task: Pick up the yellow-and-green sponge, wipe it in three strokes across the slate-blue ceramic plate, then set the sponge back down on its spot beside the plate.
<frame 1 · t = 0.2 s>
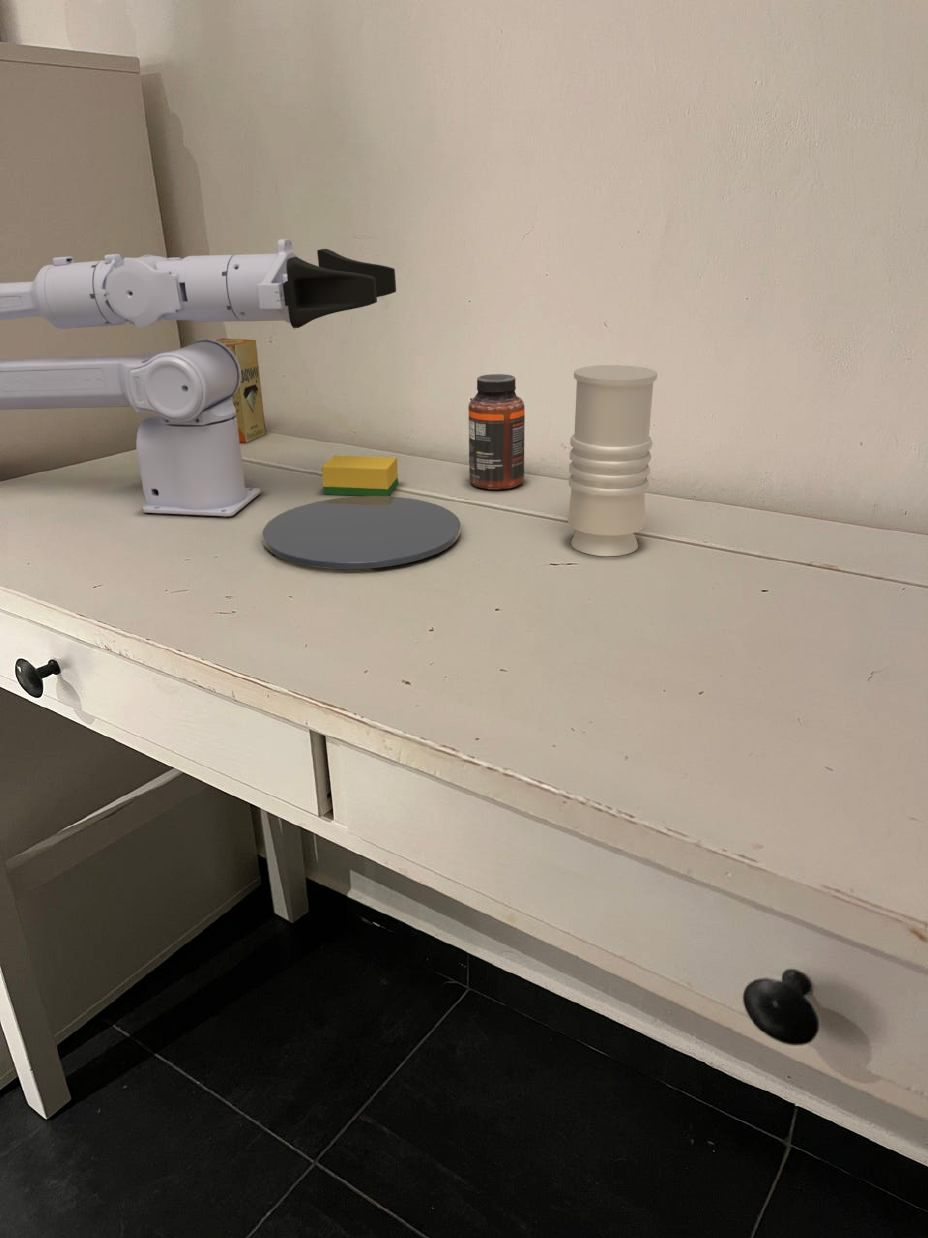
hand: (385, 284, 78), 21 cm above the table, tool horizontal, fingers open, 7 cm apart
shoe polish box: (239, 438, 115), on the table
sponge: (361, 489, 94), on the table
plate: (363, 536, 81), on the table
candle: (604, 546, 79), on the table
supplement bottle: (496, 485, 96), on the table
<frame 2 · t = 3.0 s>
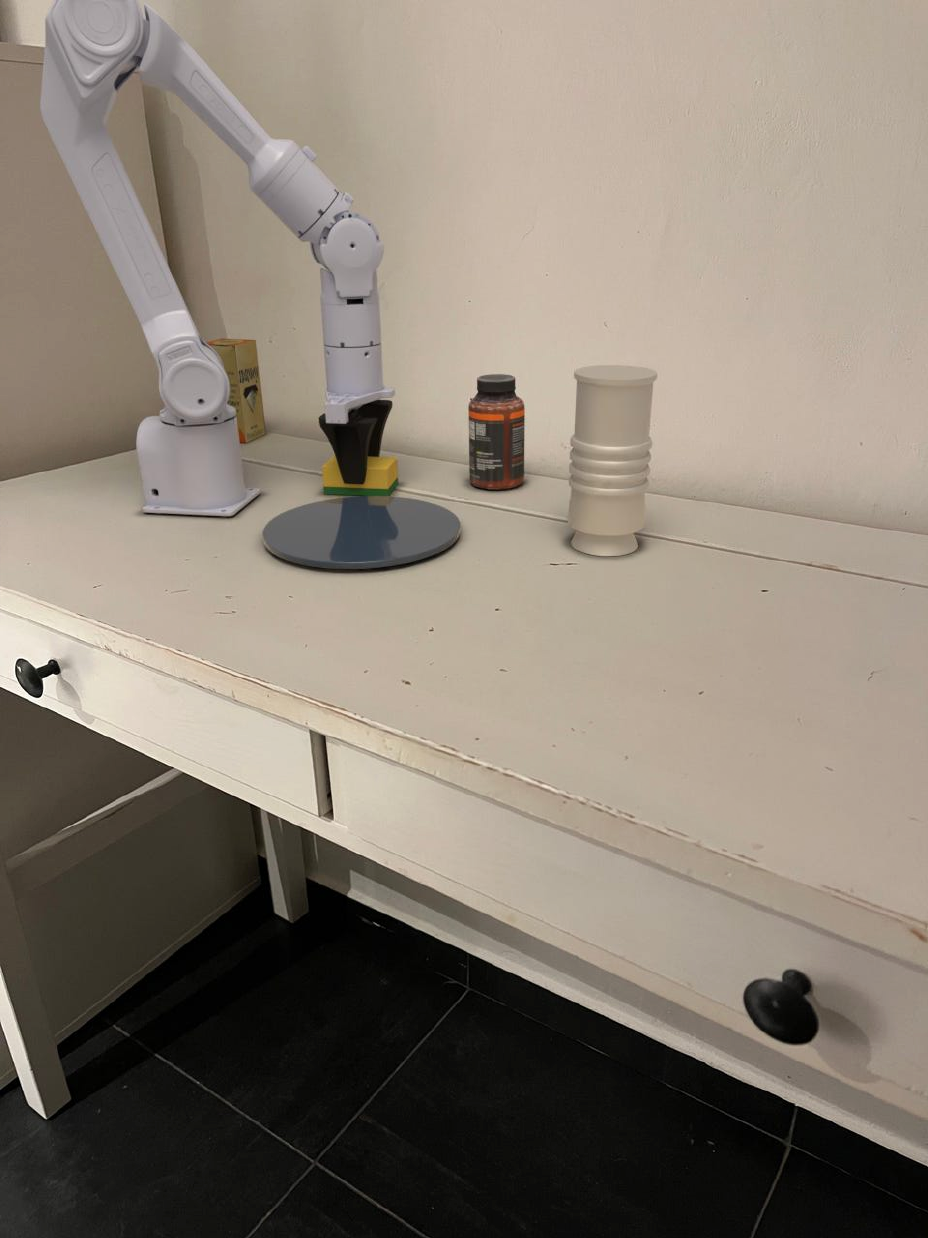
hand: (360, 476, 94), 1 cm above the table, tool pointing down, fingers closed on sponge, 4 cm apart
sponge: (361, 489, 94), on the table, touching gripper
everything else where it was.
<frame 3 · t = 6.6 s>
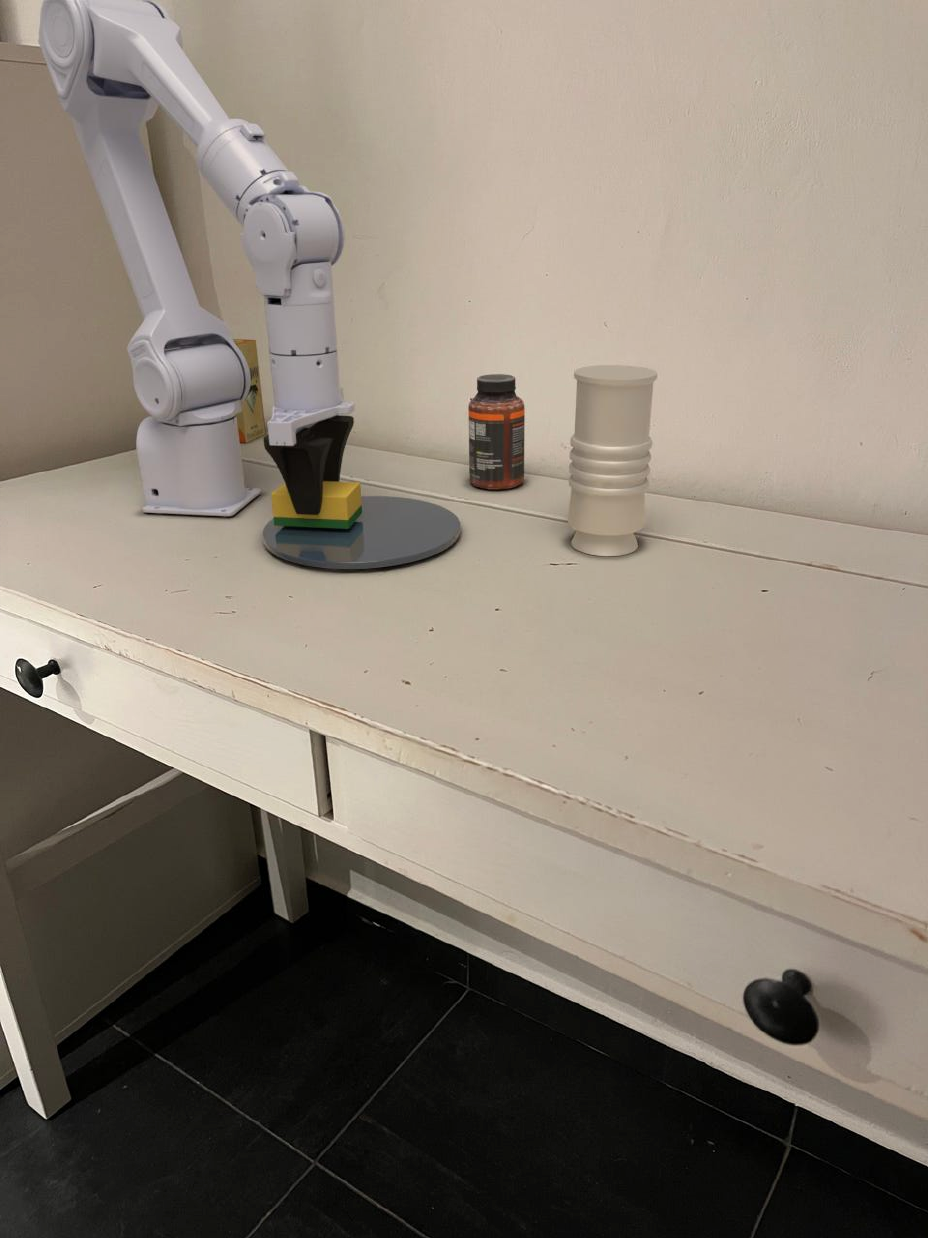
hand: (316, 504, 81), 3 cm above the table, tool pointing down, fingers closed on sponge, 4 cm apart
sponge: (318, 519, 81), point 1 cm above the table, touching gripper
everything else where it was.
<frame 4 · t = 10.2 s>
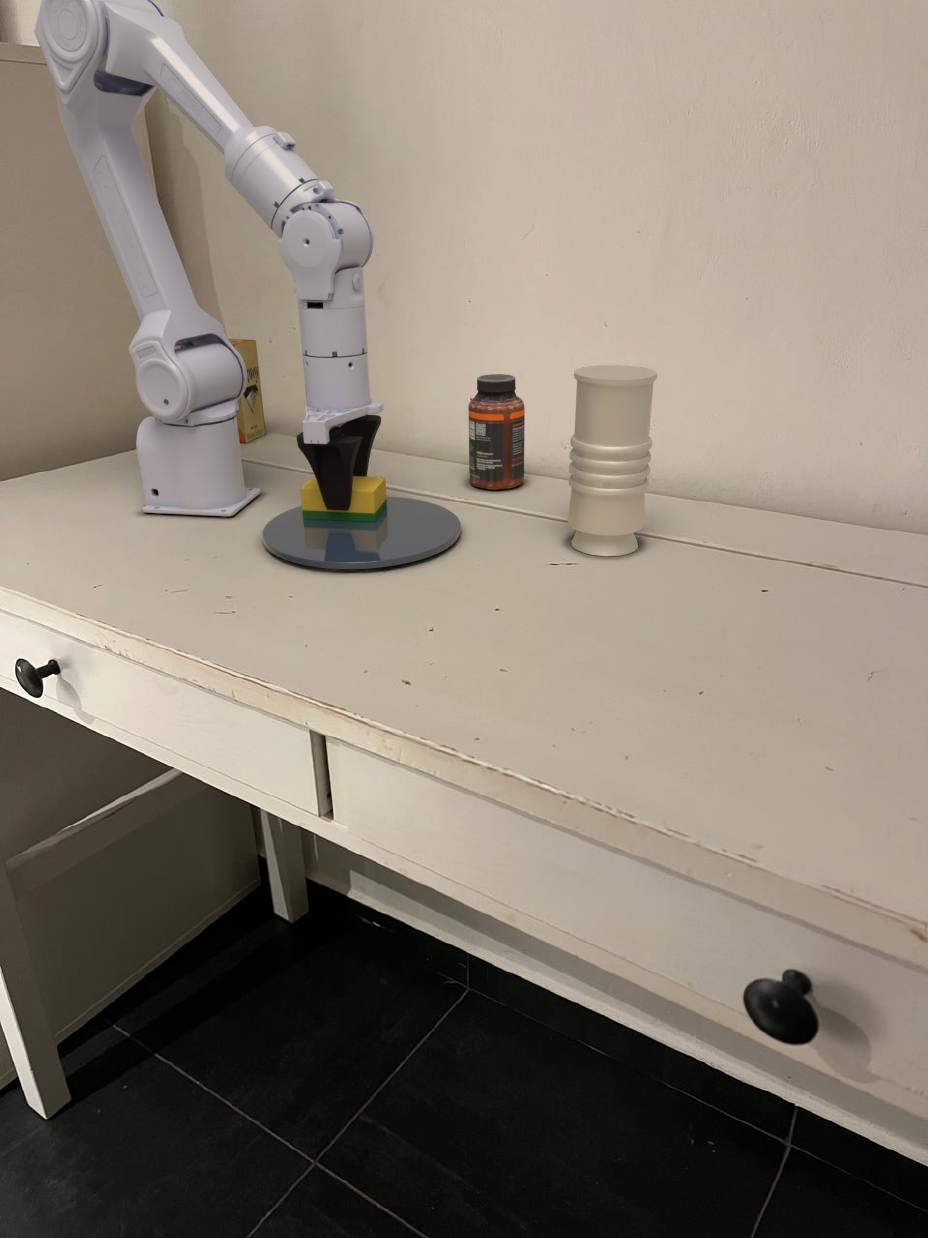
hand: (345, 500, 84), 2 cm above the table, tool pointing down, fingers closed on sponge, 4 cm apart
sponge: (345, 512, 84), point 1 cm above the table, touching gripper
everything else where it was.
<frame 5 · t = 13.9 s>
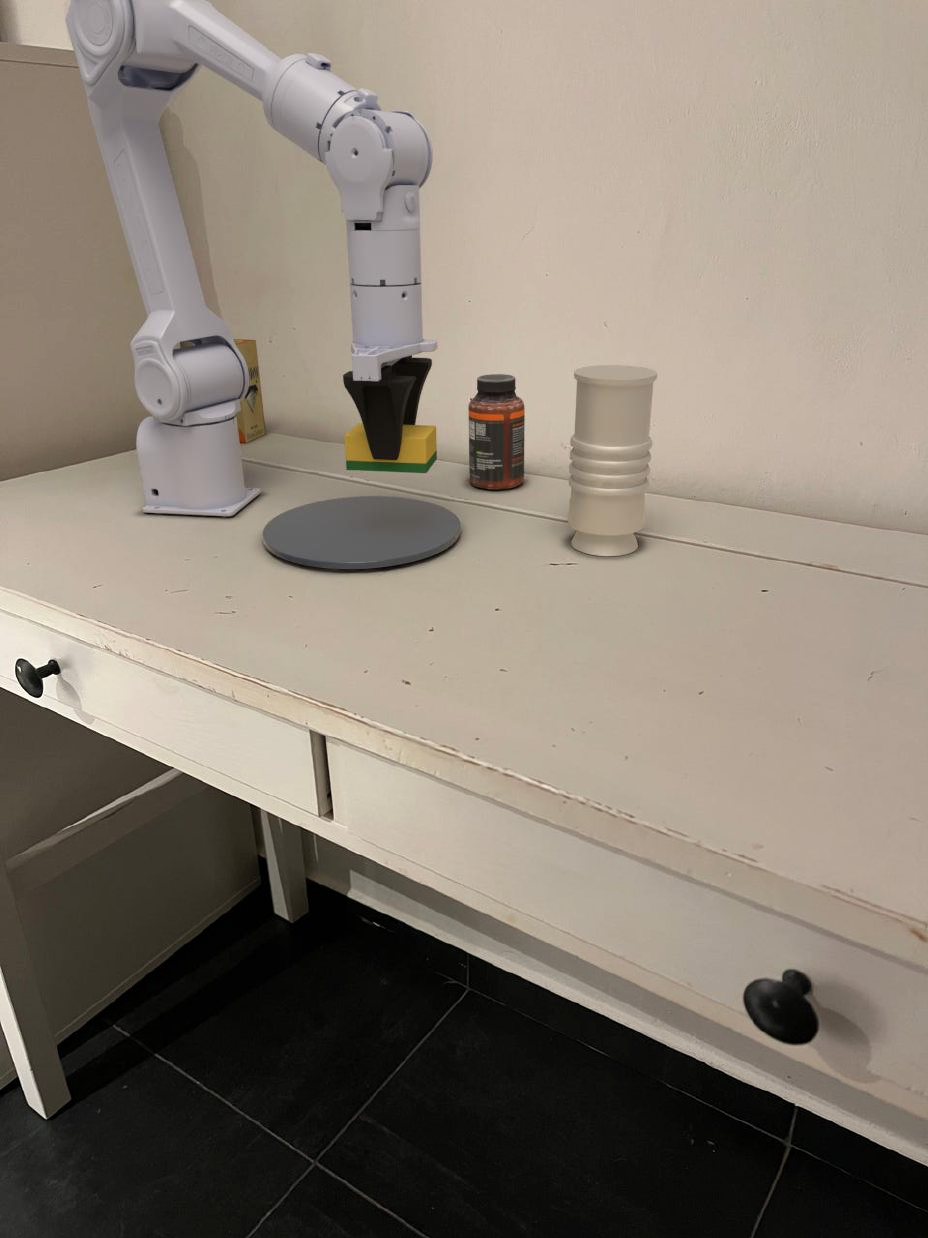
hand: (392, 451, 76), 8 cm above the table, tool pointing down, fingers closed on sponge, 4 cm apart
sponge: (392, 464, 77), point 7 cm above the table, touching gripper
everything else where it was.
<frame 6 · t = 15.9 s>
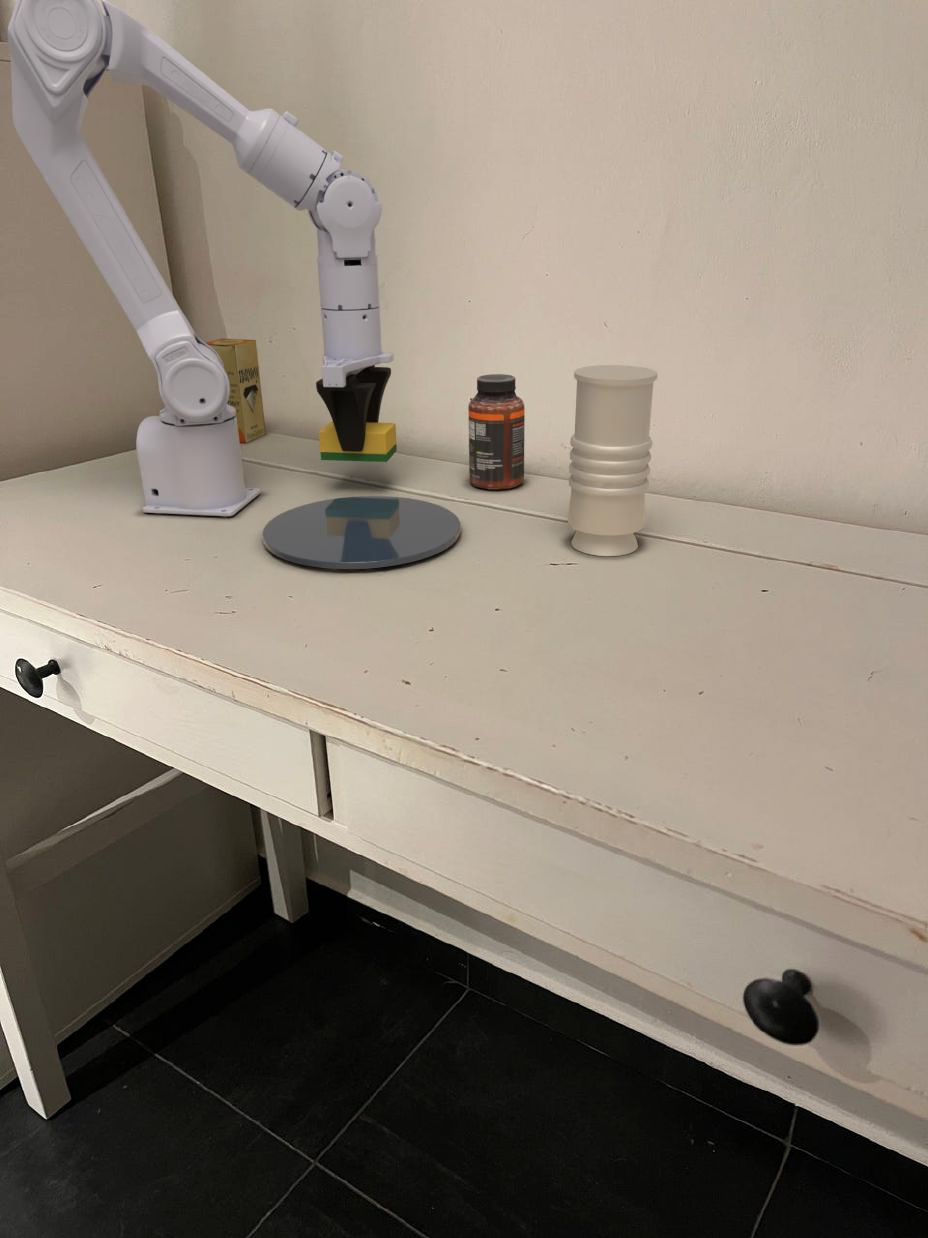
hand: (359, 444, 92), 5 cm above the table, tool pointing down, fingers closed on sponge, 4 cm apart
sponge: (359, 455, 93), point 4 cm above the table, touching gripper
everything else where it was.
when the fingers open (1 cm above the table, at t = 17.3 s): sponge stays where it is, on the table.
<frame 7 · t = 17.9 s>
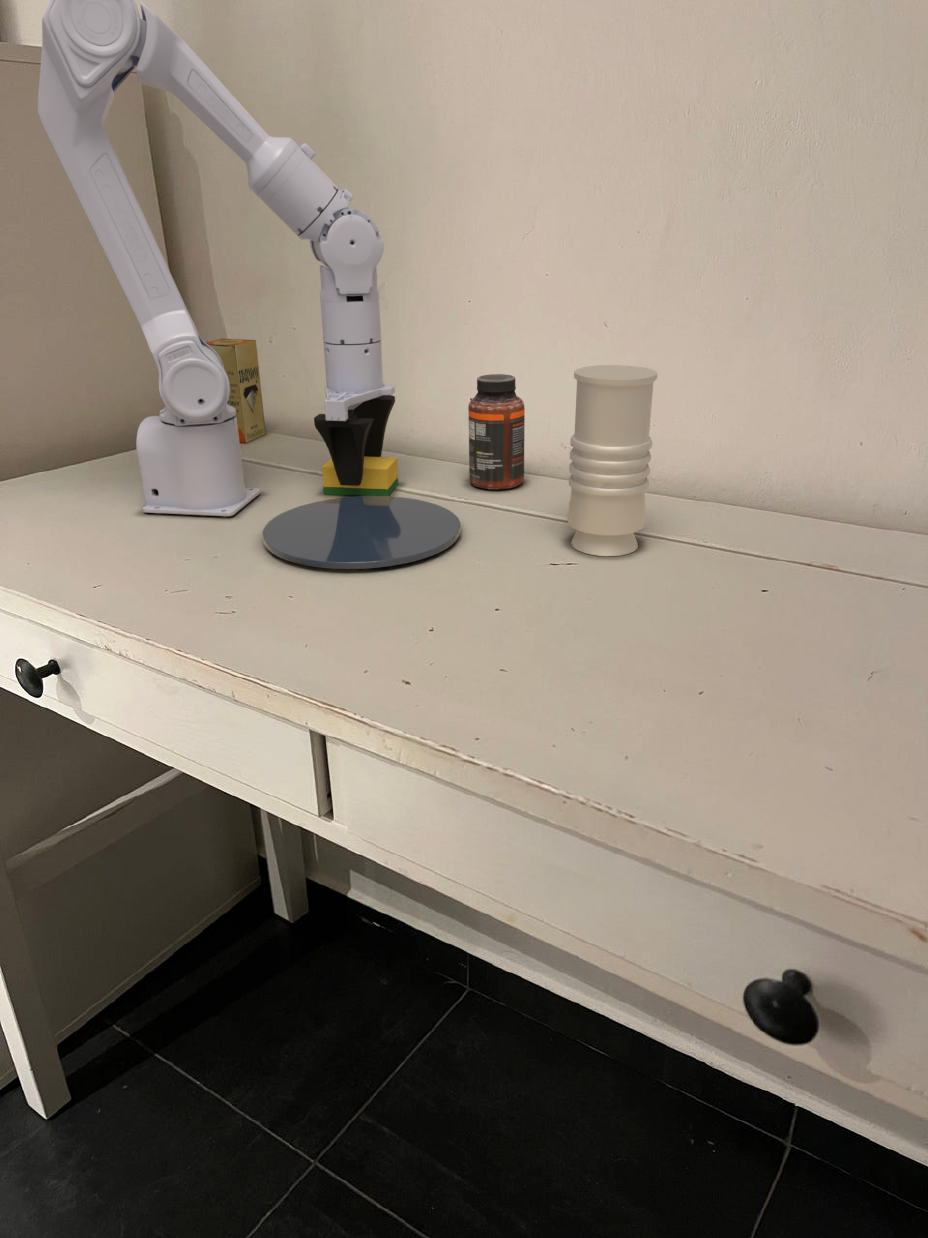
hand: (360, 474, 94), 2 cm above the table, tool pointing down, fingers open, 7 cm apart
sponge: (361, 489, 94), on the table
everything else where it was.
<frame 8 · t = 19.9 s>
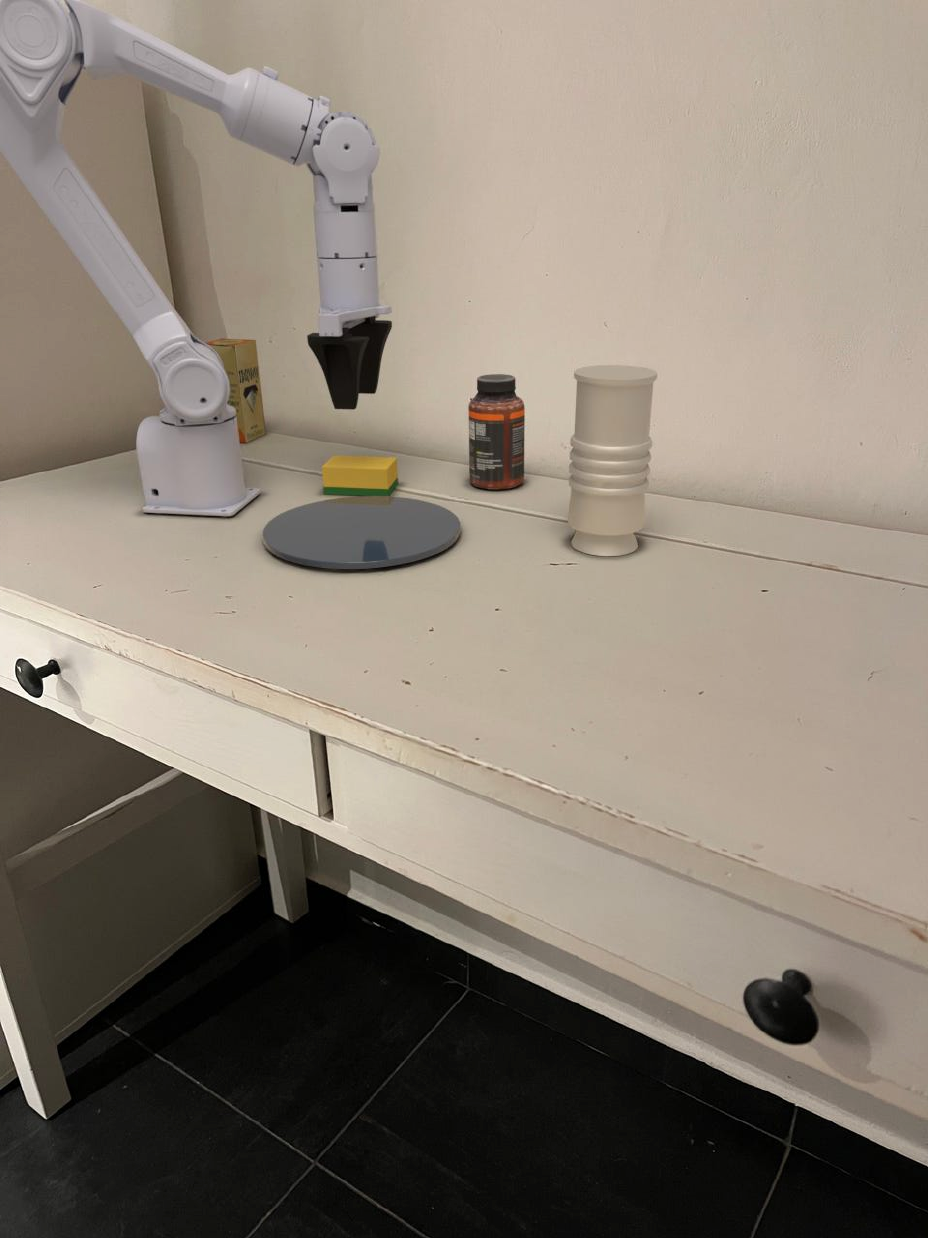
hand: (356, 400, 90), 9 cm above the table, tool pointing down, fingers open, 7 cm apart
nothing on the table moved.
at the end: sponge inside the target area (0.0 cm from its centre), on the table; sponge tilted 0°; the gripper is holding nothing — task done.
